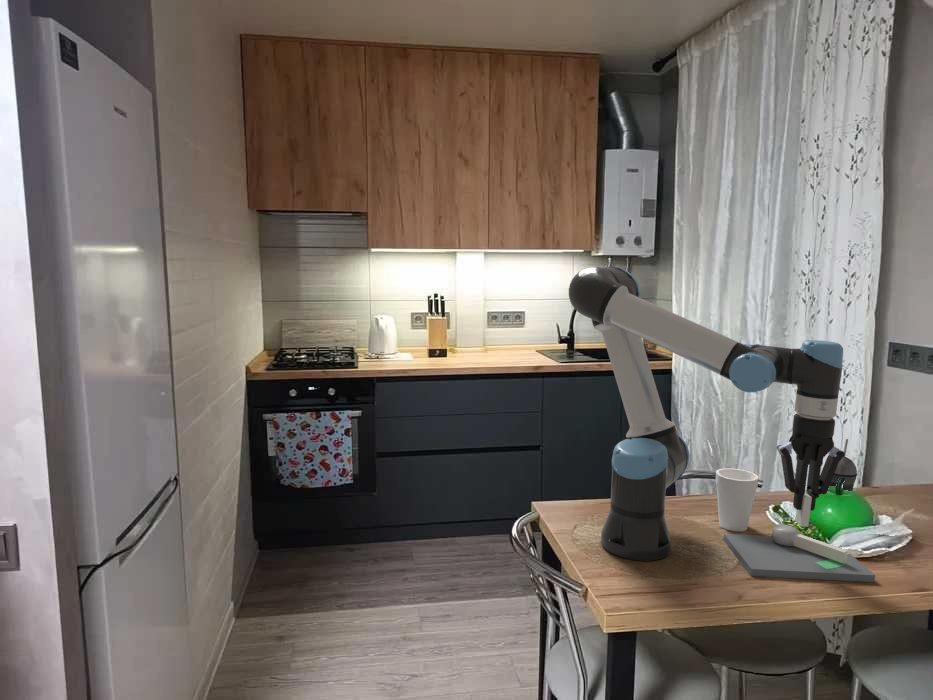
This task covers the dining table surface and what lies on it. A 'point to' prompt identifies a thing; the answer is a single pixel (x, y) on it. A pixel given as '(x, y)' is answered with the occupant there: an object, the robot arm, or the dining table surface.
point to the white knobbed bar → (807, 543)
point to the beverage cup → (845, 472)
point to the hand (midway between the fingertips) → (801, 523)
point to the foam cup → (735, 497)
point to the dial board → (792, 561)
